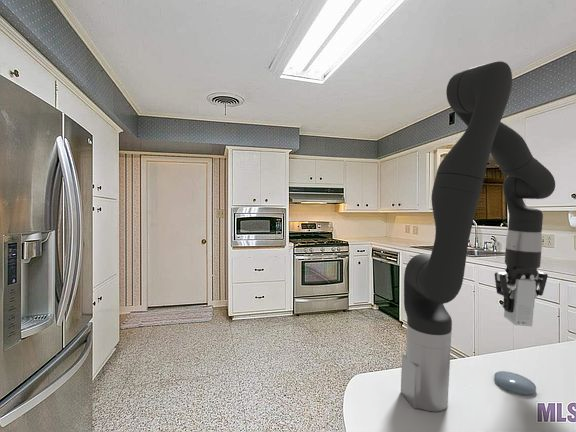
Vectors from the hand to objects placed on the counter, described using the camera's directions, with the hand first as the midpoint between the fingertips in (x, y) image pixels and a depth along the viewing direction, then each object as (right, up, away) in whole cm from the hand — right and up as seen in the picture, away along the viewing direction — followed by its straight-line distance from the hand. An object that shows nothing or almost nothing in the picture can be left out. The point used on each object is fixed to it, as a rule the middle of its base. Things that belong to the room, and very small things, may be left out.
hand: (518, 310), depth 83 cm
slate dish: (-5, -17, -5) cm, 18 cm away
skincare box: (0, -3, 0) cm, 3 cm away
